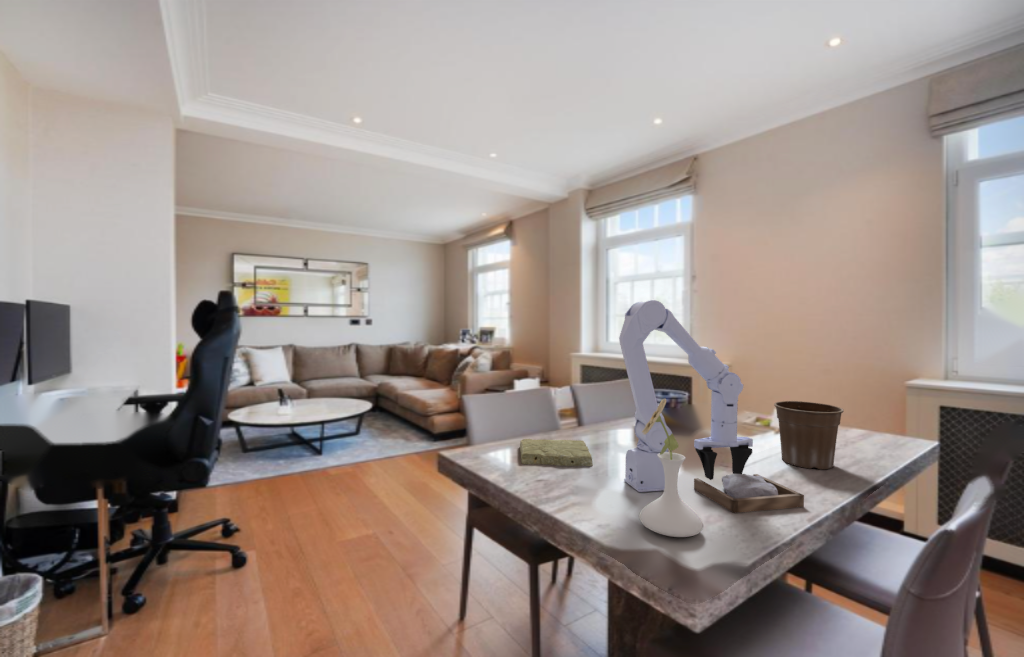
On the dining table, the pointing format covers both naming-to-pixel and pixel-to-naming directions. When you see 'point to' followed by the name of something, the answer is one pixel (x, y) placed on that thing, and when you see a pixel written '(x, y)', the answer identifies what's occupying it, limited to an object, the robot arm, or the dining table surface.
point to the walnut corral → (752, 498)
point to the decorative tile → (555, 452)
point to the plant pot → (808, 433)
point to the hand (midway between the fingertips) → (723, 477)
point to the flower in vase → (669, 493)
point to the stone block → (747, 486)
